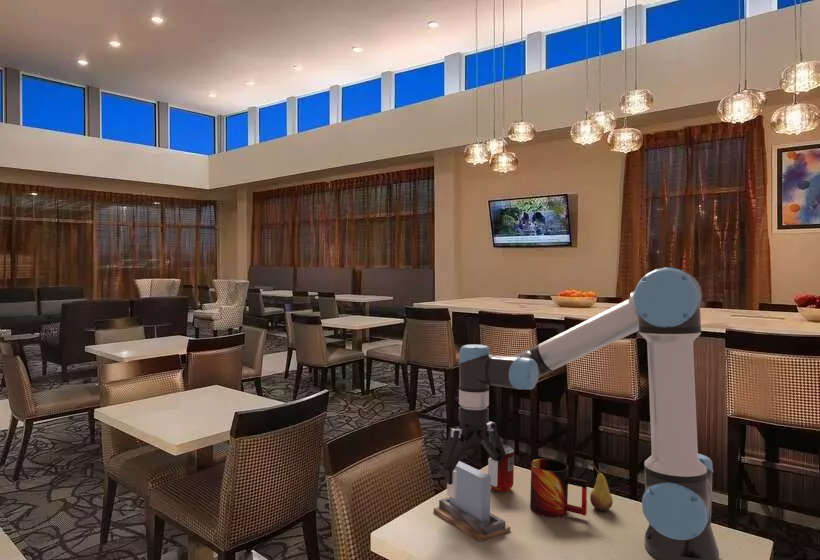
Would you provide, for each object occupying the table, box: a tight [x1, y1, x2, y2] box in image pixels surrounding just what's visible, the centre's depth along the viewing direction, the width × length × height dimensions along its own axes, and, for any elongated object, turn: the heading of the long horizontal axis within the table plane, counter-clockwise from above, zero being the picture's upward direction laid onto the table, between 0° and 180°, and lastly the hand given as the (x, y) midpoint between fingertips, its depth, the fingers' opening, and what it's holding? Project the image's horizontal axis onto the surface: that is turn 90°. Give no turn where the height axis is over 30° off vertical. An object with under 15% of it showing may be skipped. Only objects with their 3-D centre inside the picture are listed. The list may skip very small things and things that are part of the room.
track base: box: [433, 496, 511, 542], centre depth 135 cm, size 18×10×3 cm, turn 34°
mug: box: [529, 458, 588, 519], centre depth 142 cm, size 10×14×12 cm
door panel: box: [449, 460, 492, 525], centre depth 135 cm, size 12×3×12 cm, turn 34°
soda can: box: [488, 444, 515, 494], centre depth 156 cm, size 7×7×12 cm
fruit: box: [589, 463, 614, 512], centre depth 143 cm, size 6×6×12 cm
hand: (472, 490), depth 134 cm, fingers open, 13 cm apart
